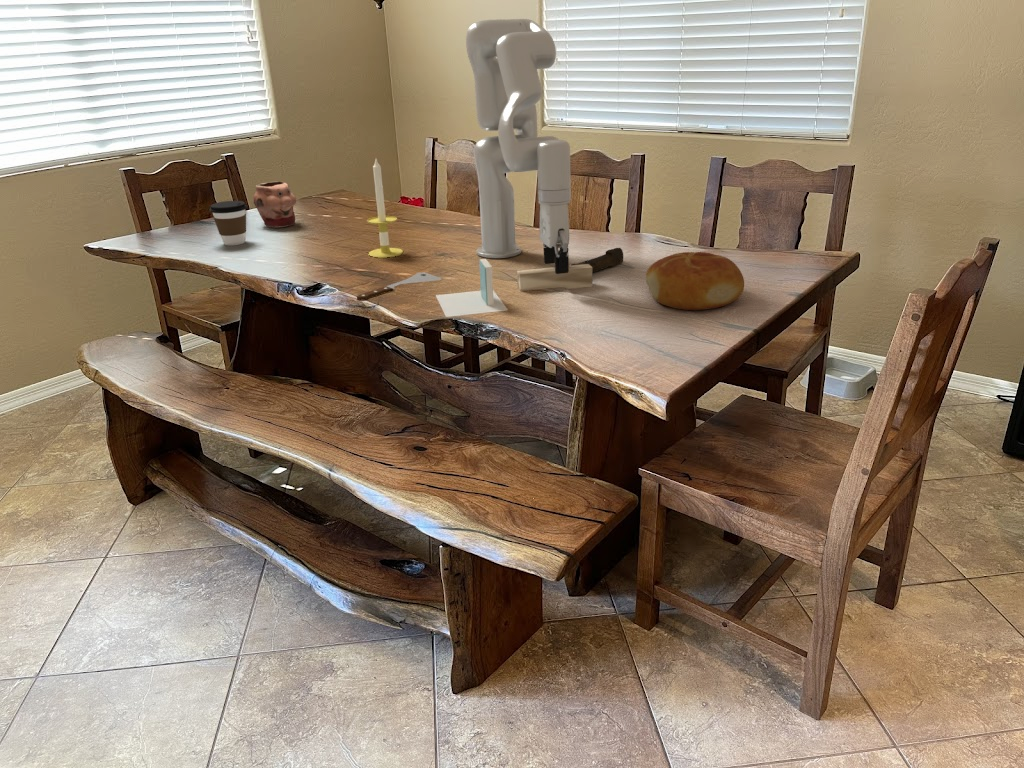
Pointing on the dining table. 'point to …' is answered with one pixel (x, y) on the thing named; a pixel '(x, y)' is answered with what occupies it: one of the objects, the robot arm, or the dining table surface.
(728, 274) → the bread
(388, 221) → the candle
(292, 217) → the decorative planter
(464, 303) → the mat
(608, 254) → the rusty brown spike
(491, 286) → the tile
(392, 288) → the kitchen cleaver
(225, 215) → the coffee cup
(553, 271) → the beige long bar
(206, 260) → the dining table surface
